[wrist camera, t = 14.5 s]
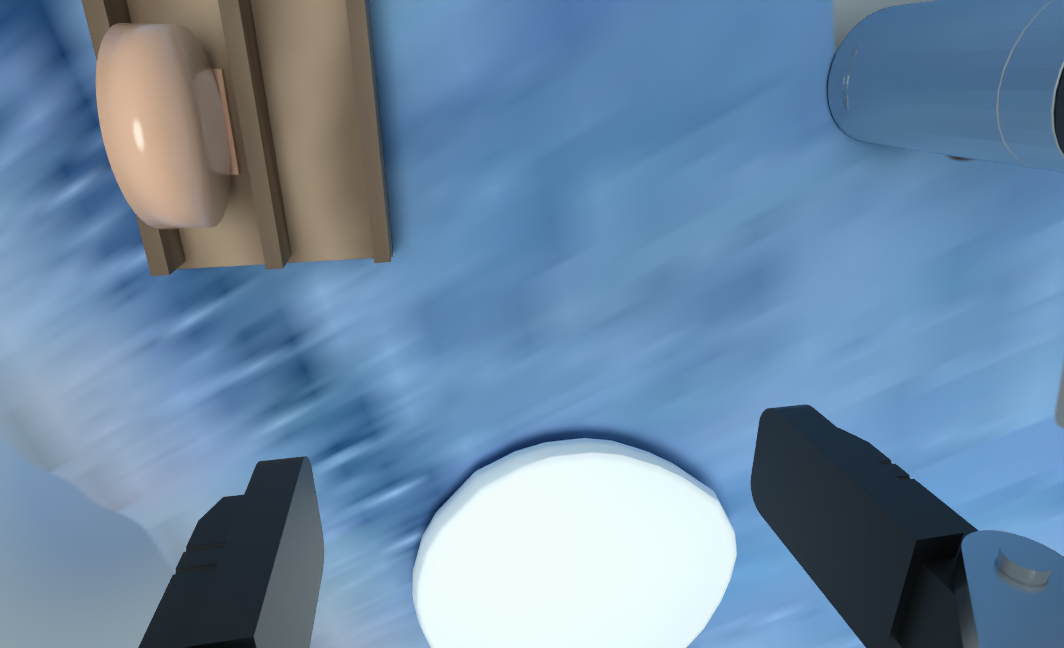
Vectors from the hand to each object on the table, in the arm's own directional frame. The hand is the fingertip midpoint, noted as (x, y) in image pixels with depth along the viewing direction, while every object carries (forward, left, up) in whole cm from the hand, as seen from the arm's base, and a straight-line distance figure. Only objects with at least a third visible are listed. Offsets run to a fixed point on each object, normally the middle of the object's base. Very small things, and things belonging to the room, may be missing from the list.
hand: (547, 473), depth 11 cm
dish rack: (+11, -4, -34) cm, 36 cm away
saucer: (+14, -4, -33) cm, 36 cm away
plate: (-9, +34, -35) cm, 49 cm away
